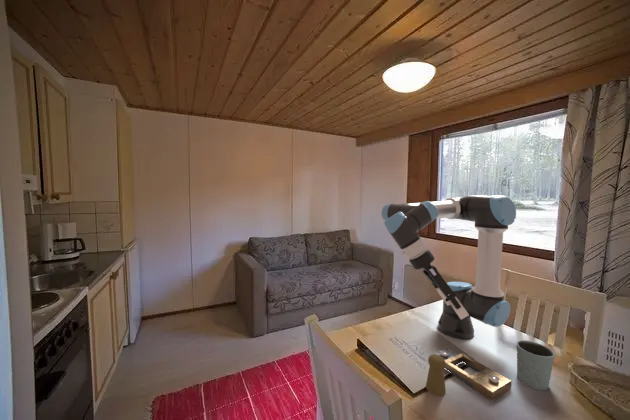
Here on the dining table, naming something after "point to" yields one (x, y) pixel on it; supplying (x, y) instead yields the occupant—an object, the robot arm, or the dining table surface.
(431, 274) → the robot arm
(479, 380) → the slotted wooden plate
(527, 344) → the grey green cup
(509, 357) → the dining table surface
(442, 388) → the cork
